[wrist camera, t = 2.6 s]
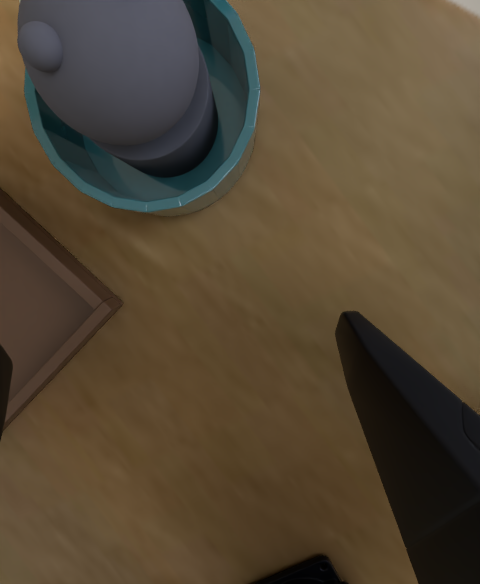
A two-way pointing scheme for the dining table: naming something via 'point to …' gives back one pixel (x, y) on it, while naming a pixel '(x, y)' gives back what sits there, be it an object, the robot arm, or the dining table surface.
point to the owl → (123, 78)
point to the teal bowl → (212, 170)
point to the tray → (43, 304)
